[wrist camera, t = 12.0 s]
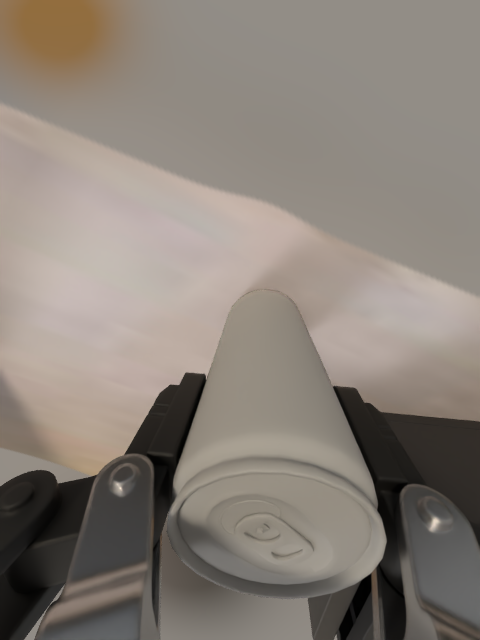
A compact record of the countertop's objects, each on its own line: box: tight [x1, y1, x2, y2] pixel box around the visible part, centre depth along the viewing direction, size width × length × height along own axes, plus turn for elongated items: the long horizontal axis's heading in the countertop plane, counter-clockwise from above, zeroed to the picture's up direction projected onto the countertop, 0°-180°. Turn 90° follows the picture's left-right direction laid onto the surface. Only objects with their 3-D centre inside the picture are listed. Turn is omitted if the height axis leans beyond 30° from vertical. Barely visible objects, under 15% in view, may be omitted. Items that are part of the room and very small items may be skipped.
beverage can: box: [167, 290, 387, 599], centre depth 11 cm, size 5×5×12 cm
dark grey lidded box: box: [336, 413, 480, 640], centre depth 16 cm, size 14×12×9 cm
